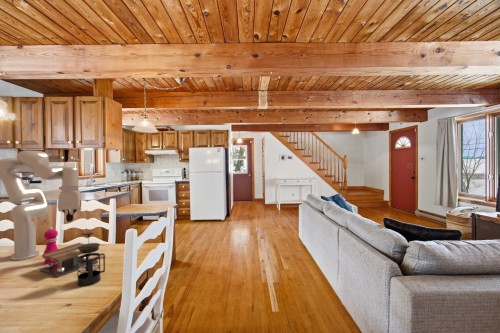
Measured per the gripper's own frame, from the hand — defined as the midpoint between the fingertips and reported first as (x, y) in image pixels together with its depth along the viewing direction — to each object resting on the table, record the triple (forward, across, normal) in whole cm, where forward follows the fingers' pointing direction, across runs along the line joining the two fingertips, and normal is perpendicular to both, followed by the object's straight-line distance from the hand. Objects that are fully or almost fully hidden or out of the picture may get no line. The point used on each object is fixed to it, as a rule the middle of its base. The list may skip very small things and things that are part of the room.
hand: (69, 221), depth 137 cm
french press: (+22, +18, -30) cm, 41 cm away
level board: (+16, +3, -8) cm, 18 cm away
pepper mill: (+24, -9, +2) cm, 25 cm away
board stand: (+23, +3, -8) cm, 25 cm away
